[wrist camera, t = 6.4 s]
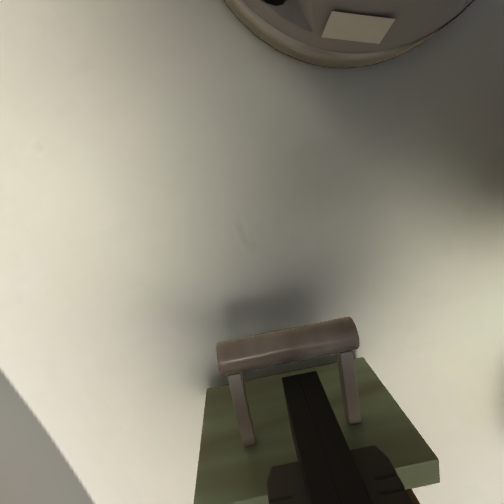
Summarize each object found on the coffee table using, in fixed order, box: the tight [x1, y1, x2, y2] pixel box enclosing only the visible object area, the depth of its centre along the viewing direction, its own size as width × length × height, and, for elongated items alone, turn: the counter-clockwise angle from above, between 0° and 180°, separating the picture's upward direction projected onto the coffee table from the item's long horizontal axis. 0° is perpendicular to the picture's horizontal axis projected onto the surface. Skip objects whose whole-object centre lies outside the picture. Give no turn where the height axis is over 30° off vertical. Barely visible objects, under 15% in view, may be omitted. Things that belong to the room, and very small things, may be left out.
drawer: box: [194, 317, 440, 504], centre depth 17 cm, size 19×10×7 cm, turn 10°
